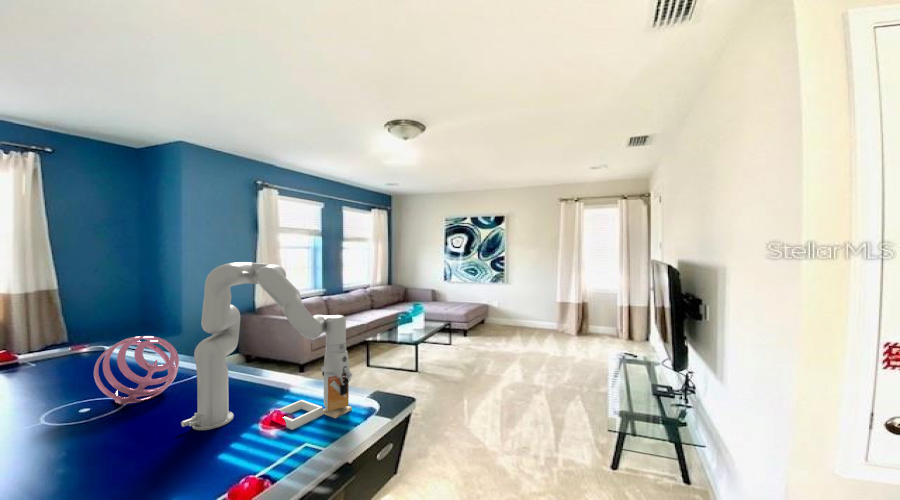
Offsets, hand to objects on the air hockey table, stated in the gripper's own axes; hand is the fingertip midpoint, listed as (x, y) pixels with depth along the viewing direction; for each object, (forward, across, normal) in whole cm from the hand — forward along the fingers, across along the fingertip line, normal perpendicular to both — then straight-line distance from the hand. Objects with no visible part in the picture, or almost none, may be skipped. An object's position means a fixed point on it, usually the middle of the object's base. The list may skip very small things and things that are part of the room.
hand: (336, 391), depth 136 cm
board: (+8, 0, 0) cm, 8 cm away
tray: (+8, +9, +11) cm, 16 cm away
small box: (+6, 0, 0) cm, 6 cm away
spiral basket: (+9, +83, +35) cm, 90 cm away
